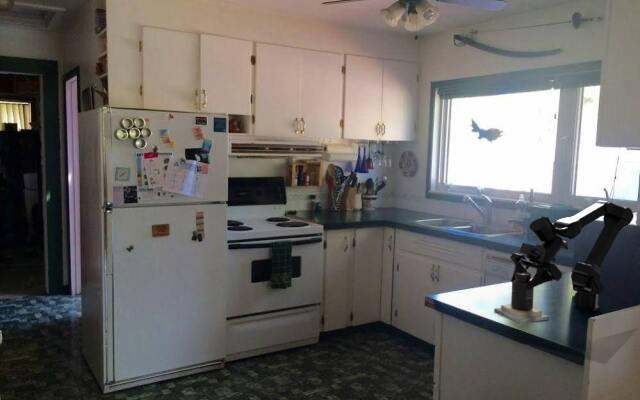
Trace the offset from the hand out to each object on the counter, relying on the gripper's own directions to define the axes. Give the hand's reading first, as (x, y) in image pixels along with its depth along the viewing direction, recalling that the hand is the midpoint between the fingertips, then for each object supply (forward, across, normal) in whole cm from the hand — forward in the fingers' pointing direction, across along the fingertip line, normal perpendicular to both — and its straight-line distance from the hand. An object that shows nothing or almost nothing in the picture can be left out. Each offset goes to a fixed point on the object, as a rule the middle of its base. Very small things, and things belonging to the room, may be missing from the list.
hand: (519, 285), depth 171 cm
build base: (+6, 0, +8) cm, 10 cm away
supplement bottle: (+5, 0, +7) cm, 8 cm away
